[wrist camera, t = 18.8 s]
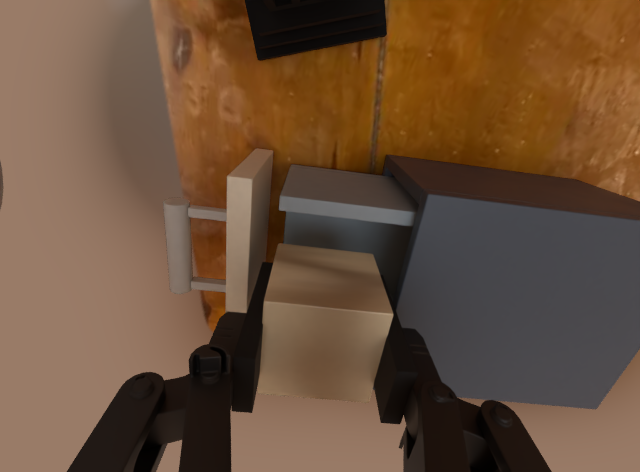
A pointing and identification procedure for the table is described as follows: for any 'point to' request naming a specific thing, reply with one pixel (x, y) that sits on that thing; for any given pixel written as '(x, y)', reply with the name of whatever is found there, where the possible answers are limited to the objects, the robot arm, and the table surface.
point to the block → (323, 324)
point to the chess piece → (312, 24)
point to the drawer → (293, 223)
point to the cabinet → (520, 282)
